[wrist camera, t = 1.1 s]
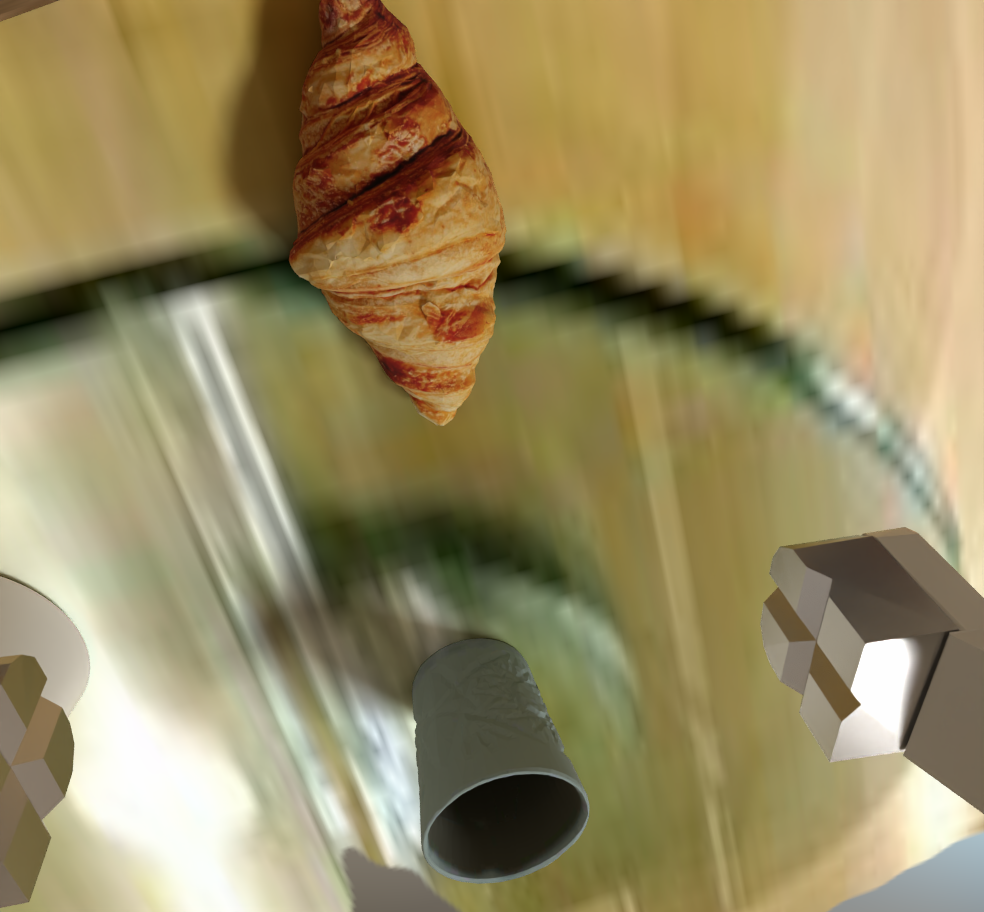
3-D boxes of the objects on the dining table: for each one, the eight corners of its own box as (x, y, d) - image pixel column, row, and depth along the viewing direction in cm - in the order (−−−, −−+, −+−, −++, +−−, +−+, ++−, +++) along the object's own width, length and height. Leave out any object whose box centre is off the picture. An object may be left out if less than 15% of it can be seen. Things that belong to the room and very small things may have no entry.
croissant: (477, 368, 48) (569, 406, 42) (338, 446, 43) (421, 501, 37) (390, -36, 36) (501, -58, 30) (185, 12, 31) (272, -3, 26)
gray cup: (407, 740, 58) (429, 899, 48) (393, 640, 53) (413, 795, 42) (540, 714, 59) (588, 862, 49) (539, 614, 54) (592, 758, 44)
